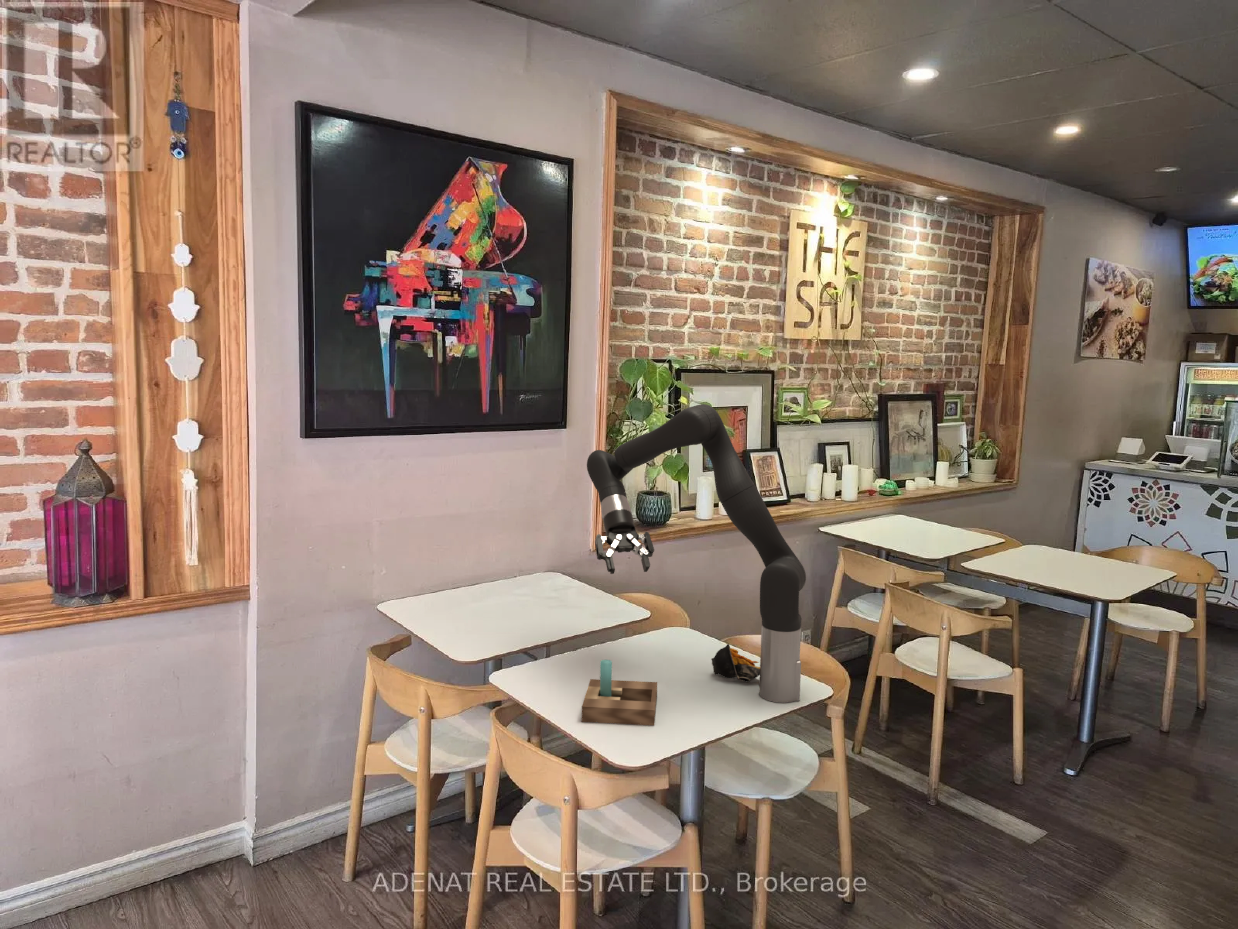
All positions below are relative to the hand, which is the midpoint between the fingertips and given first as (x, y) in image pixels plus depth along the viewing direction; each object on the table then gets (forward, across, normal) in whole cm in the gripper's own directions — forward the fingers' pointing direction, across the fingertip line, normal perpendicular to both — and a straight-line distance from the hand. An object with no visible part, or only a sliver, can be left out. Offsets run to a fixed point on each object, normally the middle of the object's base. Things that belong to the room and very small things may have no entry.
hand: (629, 571), depth 200 cm
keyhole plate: (+30, -6, +10) cm, 32 cm away
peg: (+29, -9, +11) cm, 32 cm away
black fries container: (+24, +30, +17) cm, 42 cm away
